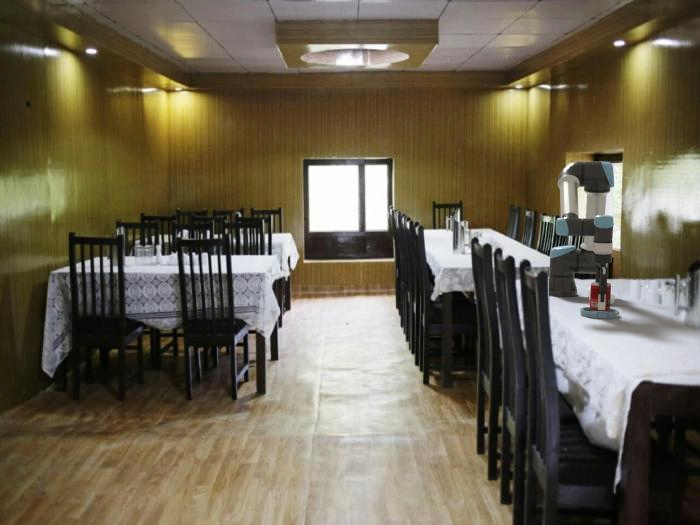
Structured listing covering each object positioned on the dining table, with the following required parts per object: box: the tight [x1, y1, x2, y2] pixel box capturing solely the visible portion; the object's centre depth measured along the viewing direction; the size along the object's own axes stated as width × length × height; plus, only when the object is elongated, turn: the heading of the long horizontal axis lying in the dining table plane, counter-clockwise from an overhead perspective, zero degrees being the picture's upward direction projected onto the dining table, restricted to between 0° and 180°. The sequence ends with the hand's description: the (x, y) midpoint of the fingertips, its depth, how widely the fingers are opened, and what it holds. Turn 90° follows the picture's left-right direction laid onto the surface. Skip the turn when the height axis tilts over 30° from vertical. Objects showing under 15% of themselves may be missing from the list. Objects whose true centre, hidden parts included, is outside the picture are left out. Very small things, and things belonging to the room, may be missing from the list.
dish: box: [579, 306, 620, 320], centre depth 319 cm, size 15×15×2 cm
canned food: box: [589, 281, 612, 311], centre depth 318 cm, size 8×8×11 cm
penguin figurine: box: [587, 285, 616, 305], centre depth 345 cm, size 6×8×12 cm
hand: (599, 307), depth 319 cm, fingers closed on canned food, 8 cm apart
